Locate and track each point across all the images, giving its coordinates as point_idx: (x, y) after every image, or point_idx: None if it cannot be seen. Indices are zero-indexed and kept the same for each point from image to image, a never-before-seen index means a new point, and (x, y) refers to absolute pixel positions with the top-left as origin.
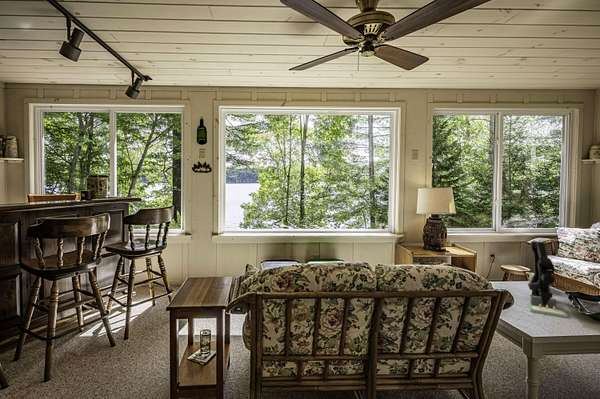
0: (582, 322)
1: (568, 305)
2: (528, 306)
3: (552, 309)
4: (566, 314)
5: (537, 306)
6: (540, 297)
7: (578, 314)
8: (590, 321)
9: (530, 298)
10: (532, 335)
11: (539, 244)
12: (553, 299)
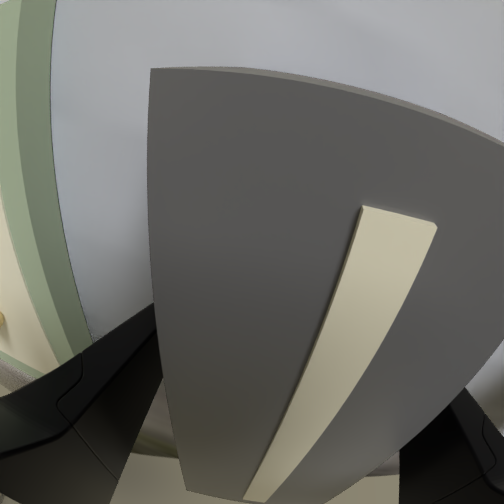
0: (7, 373)
1: (378, 471)
2: (5, 8)
3: (29, 322)
4: (5, 361)
5: (5, 154)
6: (295, 422)
7: (155, 444)
8: None
9: (483, 133)
10: None
11: None
12: (245, 498)
